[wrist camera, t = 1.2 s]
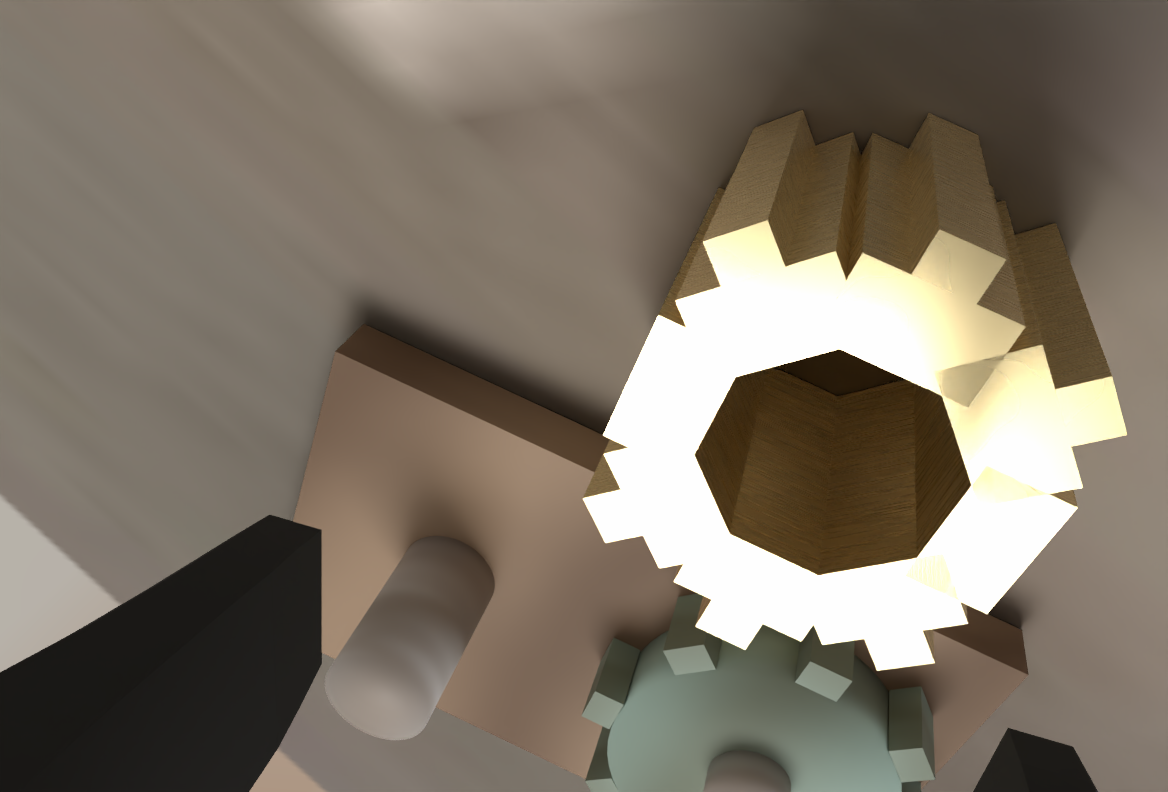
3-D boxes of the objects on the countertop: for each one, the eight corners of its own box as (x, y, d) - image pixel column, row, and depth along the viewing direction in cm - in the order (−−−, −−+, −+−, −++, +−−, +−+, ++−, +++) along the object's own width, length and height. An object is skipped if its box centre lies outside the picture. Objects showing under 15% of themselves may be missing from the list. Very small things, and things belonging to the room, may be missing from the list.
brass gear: (1125, 200, 15) (1211, 351, 11) (897, 518, 19) (895, 721, 15) (783, 47, 15) (739, 138, 11) (624, 392, 19) (547, 556, 15)
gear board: (1021, 629, 19) (1052, 839, 15) (827, 847, 24) (812, 1052, 20) (363, 324, 20) (232, 451, 16) (292, 592, 24) (176, 743, 20)
